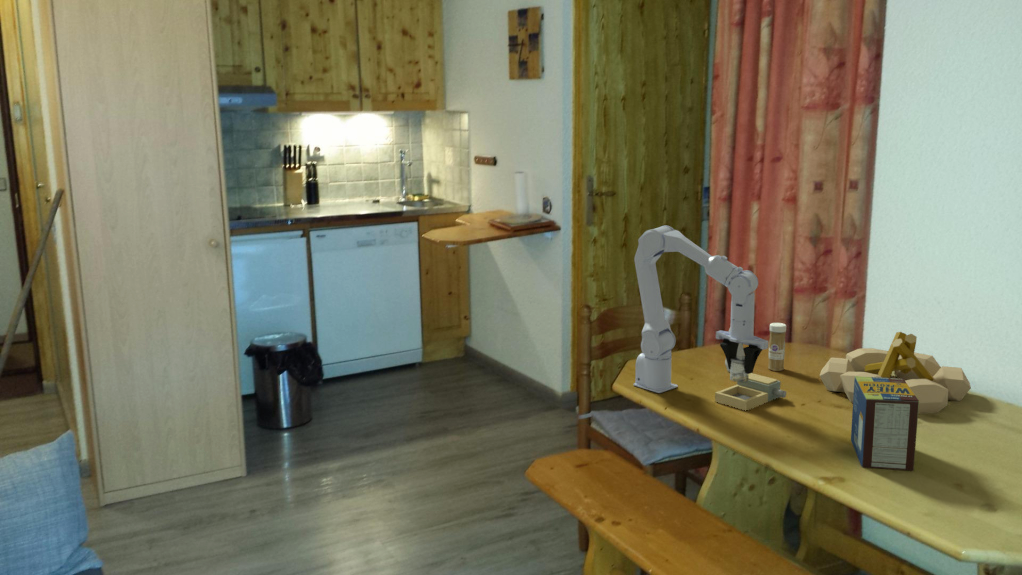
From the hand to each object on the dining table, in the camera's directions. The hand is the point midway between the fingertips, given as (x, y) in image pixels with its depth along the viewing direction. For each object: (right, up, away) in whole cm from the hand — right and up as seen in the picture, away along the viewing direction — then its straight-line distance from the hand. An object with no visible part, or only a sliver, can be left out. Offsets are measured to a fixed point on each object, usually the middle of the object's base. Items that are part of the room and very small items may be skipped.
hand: (740, 370), depth 219 cm
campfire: (+42, -7, +7) cm, 43 cm away
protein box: (+22, -16, -33) cm, 42 cm away
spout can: (0, -2, 0) cm, 2 cm away
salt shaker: (+6, -3, +27) cm, 28 cm away
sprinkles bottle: (+18, -2, +28) cm, 33 cm away
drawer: (+4, -8, +2) cm, 9 cm away
